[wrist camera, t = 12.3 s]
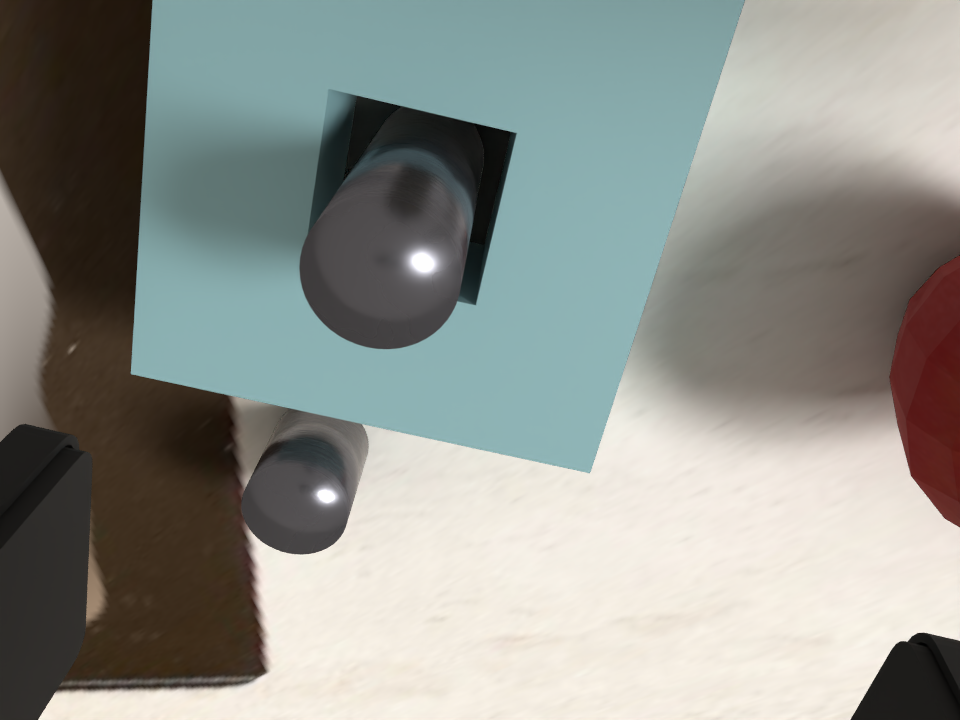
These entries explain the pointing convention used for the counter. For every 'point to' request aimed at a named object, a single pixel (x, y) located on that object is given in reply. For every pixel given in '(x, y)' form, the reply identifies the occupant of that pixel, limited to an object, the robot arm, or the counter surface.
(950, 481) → the apple
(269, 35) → the socket block
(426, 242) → the long pin
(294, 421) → the short pin
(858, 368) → the counter surface
